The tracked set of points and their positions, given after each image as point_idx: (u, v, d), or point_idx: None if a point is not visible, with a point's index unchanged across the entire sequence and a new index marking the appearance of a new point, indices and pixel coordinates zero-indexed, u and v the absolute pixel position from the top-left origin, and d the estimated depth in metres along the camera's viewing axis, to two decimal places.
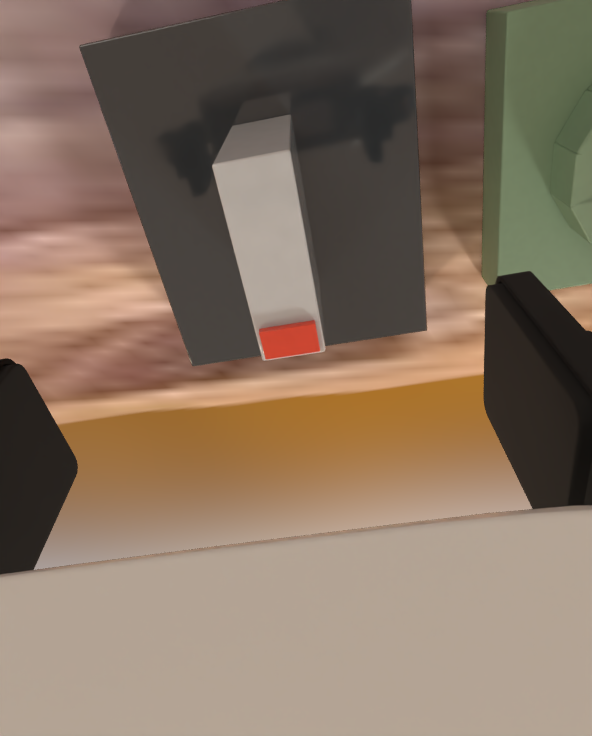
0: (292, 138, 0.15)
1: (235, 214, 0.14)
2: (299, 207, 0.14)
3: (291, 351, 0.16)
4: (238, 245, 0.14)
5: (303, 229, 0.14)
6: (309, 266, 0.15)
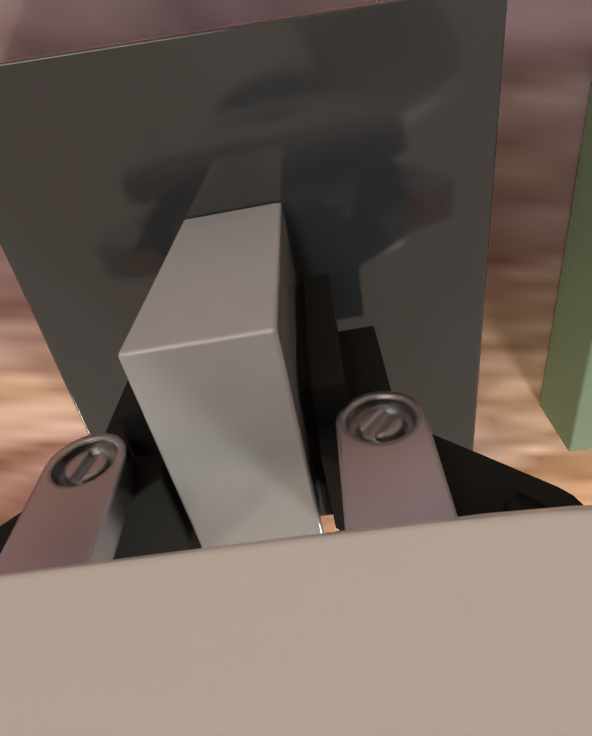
0: (283, 262, 0.09)
1: (171, 433, 0.07)
2: (296, 421, 0.07)
3: None
4: (181, 478, 0.08)
5: (303, 452, 0.07)
6: (314, 505, 0.08)
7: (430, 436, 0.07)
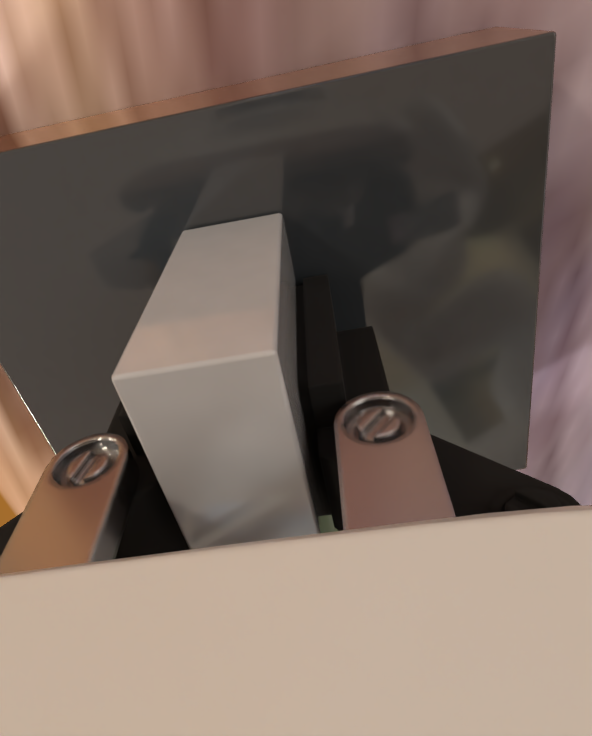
0: (283, 276, 0.08)
1: (167, 457, 0.07)
2: (297, 444, 0.07)
3: None
4: (178, 502, 0.07)
5: (305, 475, 0.07)
6: (316, 528, 0.08)
7: (428, 436, 0.07)
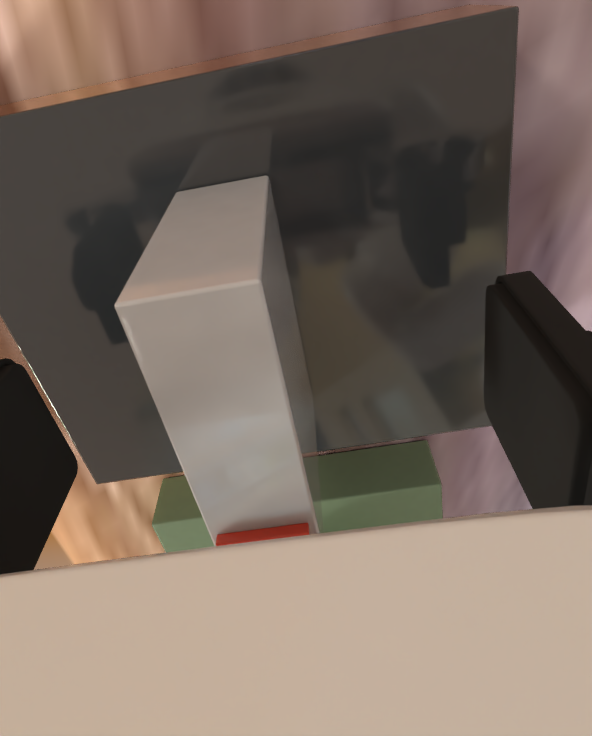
0: (268, 227, 0.09)
1: (164, 381, 0.08)
2: (279, 369, 0.08)
3: None
4: (173, 426, 0.08)
5: (287, 400, 0.08)
6: (298, 452, 0.09)
7: None
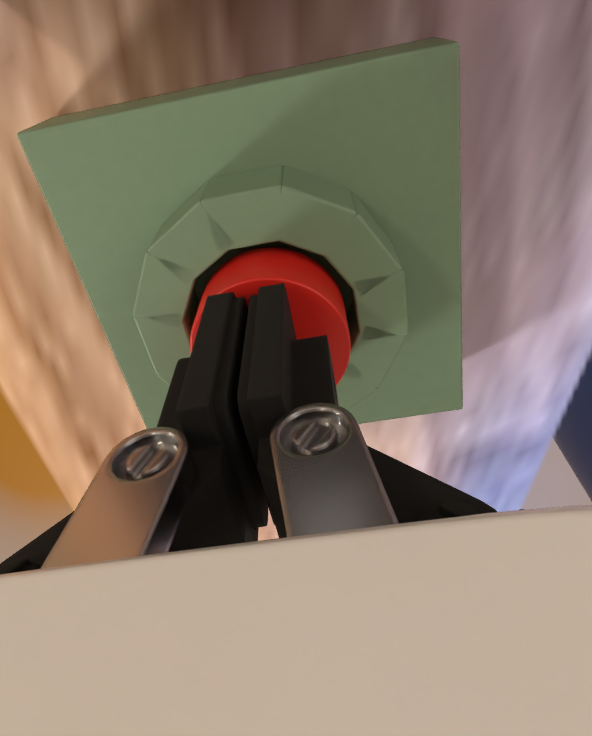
0: None
1: None
2: None
3: None
4: None
5: None
6: None
7: (363, 443, 0.07)
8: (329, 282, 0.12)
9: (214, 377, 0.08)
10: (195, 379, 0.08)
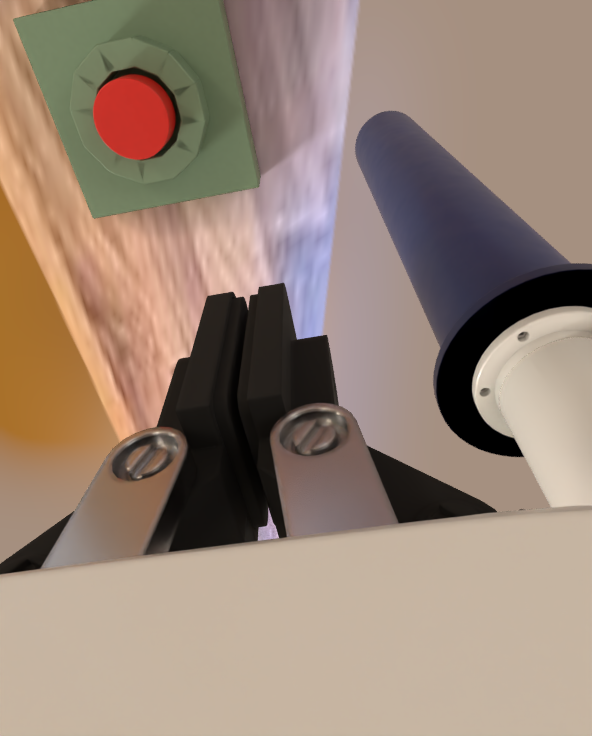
0: None
1: None
2: None
3: None
4: None
5: None
6: None
7: (363, 443, 0.07)
8: (160, 89, 0.26)
9: (214, 377, 0.08)
10: (195, 379, 0.08)
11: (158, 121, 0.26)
